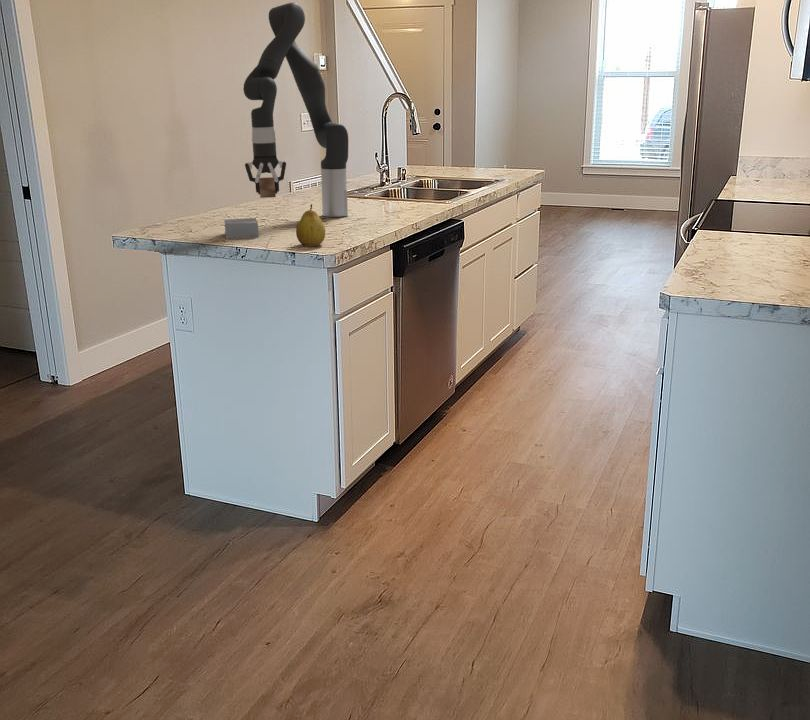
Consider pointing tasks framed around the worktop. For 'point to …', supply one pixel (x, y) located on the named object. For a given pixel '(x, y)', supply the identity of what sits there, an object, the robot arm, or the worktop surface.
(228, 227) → the base block
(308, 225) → the fruit
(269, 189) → the walnut block
